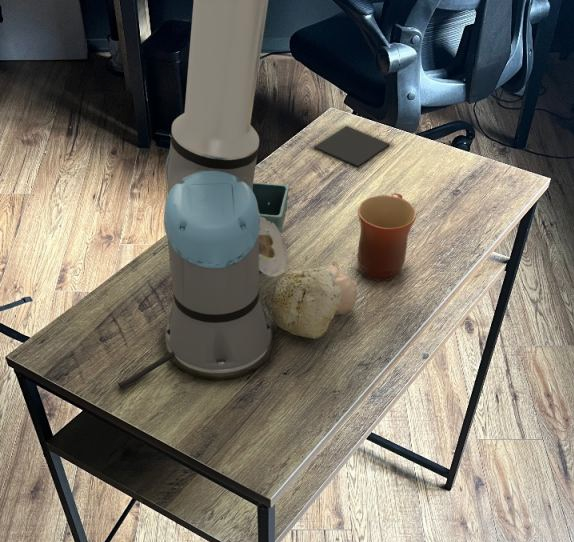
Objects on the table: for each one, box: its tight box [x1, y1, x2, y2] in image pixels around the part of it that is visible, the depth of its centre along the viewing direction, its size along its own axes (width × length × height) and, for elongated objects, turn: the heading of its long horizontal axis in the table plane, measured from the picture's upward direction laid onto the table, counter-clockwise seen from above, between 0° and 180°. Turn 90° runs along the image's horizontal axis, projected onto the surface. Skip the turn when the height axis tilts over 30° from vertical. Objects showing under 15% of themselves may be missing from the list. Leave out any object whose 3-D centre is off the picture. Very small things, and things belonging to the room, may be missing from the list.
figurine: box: [259, 203, 289, 278], centre depth 120 cm, size 11×10×15 cm
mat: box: [313, 125, 390, 168], centre depth 152 cm, size 10×10×1 cm
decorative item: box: [269, 266, 342, 340], centre depth 117 cm, size 12×9×10 cm
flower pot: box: [253, 181, 290, 234], centre depth 129 cm, size 9×9×9 cm
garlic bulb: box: [324, 261, 358, 316], centre depth 122 cm, size 7×6×8 cm
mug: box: [356, 192, 418, 282], centre depth 127 cm, size 12×9×10 cm
